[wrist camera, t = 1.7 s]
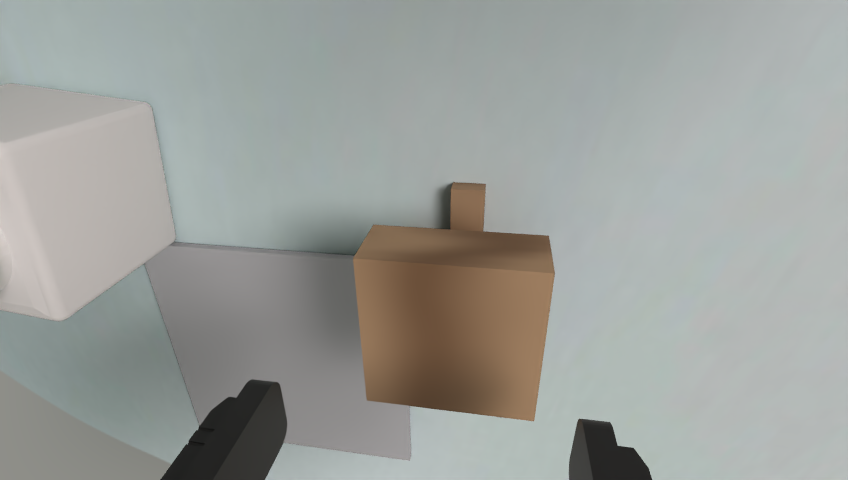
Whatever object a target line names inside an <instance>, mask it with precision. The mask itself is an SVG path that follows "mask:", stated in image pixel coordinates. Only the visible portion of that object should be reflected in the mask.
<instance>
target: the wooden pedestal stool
mask: <svg viewBox="0 0 848 480" xmlns="http://www.w3.org/2000/svg"><path fill="white" fill-rule="evenodd" d="M485 187H486V184H476V183H455V182H453V184H452V187H451V214H450V230H449V229H433V228H417V227H401V226H385V225H373V226H372V228H371V230H370V231H369V233H368V235H367V236H366V238H365V239H364V241H363V243H362V244H361V246H360V248H359V249H358V251H357V252H356V254H355V256H354V257H353V264H354V275H355V285H356V296H357V306H358V316H359V327H360V337H361V347H362V358H363V368H364V378H365V389H366V399H367V401H374V402H383V403H391V404H399V405H407V406H415V407H423V408H431V409H439V410H447V411H455V412H464V413H472V414H480V415H488V416H496V417H504V418H512V419H520V420H528V421H534V418H535V411H536V404H537V397H538V390H539V383H540V375H541V368H542V361H543V354H544V347H545V340H546V333H547V325H548V318H549V311H550V304H551V297H552V290H553V283H554V275H555V272H554V266H553V259H552V253H551V247H550V241H549V236H544V235H528V234H512V233H496V232H483V225H484V206H485Z"/></svg>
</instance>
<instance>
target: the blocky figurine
mask: <svg viewBox="0 0 848 480" xmlns="http://www.w3.org/2000/svg"><path fill="white" fill-rule="evenodd" d="M175 239H176V233H175V228H174V222H173V217H172V212H171V206H170V201H169V196H168V190H167V185H166V180H165V174H164V169H163V164H162V158H161V153H160V148H159V142H158V137H157V132H156V126H155V121H154V116H153V110H152V108H151V106H150V105H149V104H148V103H146V102H141V101H134V100H127V99H120V98H113V97H106V96H99V95H92V94H85V93H78V92H71V91H64V90H57V89H49V88H42V87H35V86H28V85H21V84H14V83H10V84H4V85H0V310H3V311H8V312H13V313H18V314H23V315H28V316H33V317H38V318H43V319H48V320H53V321H63V320H66V319H67V318H69V317H70V316H72V315H73V314H74V313H76V312H77V311H79V310H80V309H81V308H83V307H84V306H86V305H87V304H88V303H90V302H91V301H92V300H94V299H95V298H97V297H98V296H99V295H101V294H102V293H104V292H105V291H106V290H108V289H109V288H111V287H112V286H113V285H115V284H116V283H118V282H119V281H120V280H122V279H123V278H124V277H126V276H127V275H129V274H130V273H131V272H133V271H134V270H136V269H137V268H138V267H140V266H141V265H143V264H144V263H145V262H147V261H148V260H150V259H151V258H152V257H154V256H155V255H156V254H158V253H159V252H161V251H162V250H163V249H165V248H166V247H168V246H169V245H170V244H172V243H173V242H174V241H175Z"/></svg>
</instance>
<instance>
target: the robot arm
mask: <svg viewBox="0 0 848 480" xmlns="http://www.w3.org/2000/svg"><path fill="white" fill-rule="evenodd" d="M286 432H287V417H286V412H285V407H284V402H283V397H282V391H281V387H280V384H279V383H278V382H272V381H263V380H255V379H251V380H249V381H248V382H247V383H246V384H245V386H244V387H243V389H242V390H241V392H240V393H239V395H238V396H237V398H236V397H227V398H226V399H225V400H224V401H222V402H221V403H220V404H218V405H217V406H216V407H215V408H213V409H212V410H211V411H210V412H209V414H208V415H207V416H206V418H205V419H204V421H203V422H202V423H201V425H200V426H199V429H198V431H197V430H196V432H195V433H194V434H193V436H192V437H191V439H190V440H189V443H188V445H185V447H184V448H183V450H182V451H181V452H180V454H179V455H178V456H177V458H176V459H175V461H174V462H173V463H172V465H171V466H170V467H169V469H168V470H167V472H166V473H165V474H164V476H163V477H162V479H161V480H265V478H266V476H267V474H268V472H269V470H270V468H271V466H272V464H273V462H274V461H275V459H276V457H277V455H278V453H279V451H280V449H281V447H282V445H283V442H284V440H285V436H286ZM569 480H652V478H651V475H650V471H649V468H648V467H647V465H646V464H645V463H644V461H643V460H642V459H641V457H640V456H639V455H638V453H637V452H636V451H635V449H634V448H630V447H622V446H617V442H616V438H615V434H614V430H613V427H612V425H611V423H610V422H604V421H595V420H587V419H579V420H578V422H577V427H576V431H575V436H574V441H573V446H572V451H571V455H570V462H569Z"/></svg>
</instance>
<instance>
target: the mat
mask: <svg viewBox="0 0 848 480" xmlns="http://www.w3.org/2000/svg"><path fill="white" fill-rule="evenodd" d="M353 257H354V256H353V255H339V254H326V253H312V252H299V251H285V250H272V249H258V248H245V247H231V246H218V245H204V244H190V243H177V242H173V243H172V244H170V245H169V246H168V247H166V248H165V249H163V250H162V251H161V252H159V253H158V254H156V255H155V256H154V257H152V258H151V259H150V260H148V261H147V262H145V263H144V264H145V267H146V270H147V272H148V275H149V278H150V281H151V284H152V287H153V290H154V293H155V296H156V299H157V302H158V305H159V308H160V311H161V314H162V316H163V319H164V322H165V325H166V328H167V331H168V334H169V337H170V340H171V343H172V346H173V349H174V352H175V355H176V358H177V360H178V363H179V366H180V369H181V372H182V375H183V378H184V381H185V384H186V387H187V390H188V393H189V396H190V399H191V402H192V404H193V407H194V410H195V413H196V416H197V419H198V422H199V425H201V423H202V422H203V421H204V419H205V418H206V416H207V415H208V414H209V412H210V411H211V410H212V409H213V408H215V407H216V406H217V405H218V404H220V403H221V402H222V401H224V400H225V399H226V398H227V397H236V398H237V396H238V395H239V393H240V392H241V390H242V389H243V387H244V386H245V384H246V383H247V382H248V381H249V380H251V379H255V380H263V381H272V382H278V383H279V384H280V387H281V391H282V397H283V402H284V407H285V412H286V417H287V432H286V436H285V440H284V442H283V443H289V444H296V445H303V446H310V447H317V448H324V449H332V450H339V451H346V452H353V453H360V454H367V455H374V456H381V457H388V458H395V459H402V460H409V461H410V458H411V438H410V412H409V406H407V405H399V404H391V403H383V402H374V401H367V399H366V389H365V378H364V368H363V358H362V347H361V337H360V327H359V316H358V306H357V296H356V285H355V275H354V264H353Z"/></svg>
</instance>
